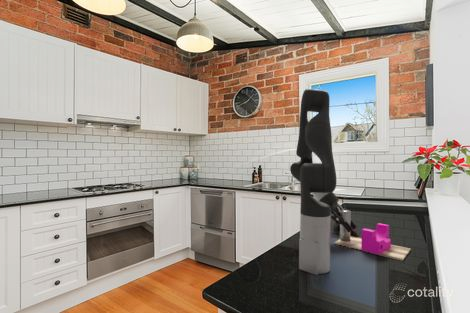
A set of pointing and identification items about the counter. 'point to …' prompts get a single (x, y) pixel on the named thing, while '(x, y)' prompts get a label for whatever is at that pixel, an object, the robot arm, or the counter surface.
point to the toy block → (376, 239)
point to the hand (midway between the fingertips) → (352, 229)
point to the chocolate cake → (337, 230)
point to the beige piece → (355, 242)
